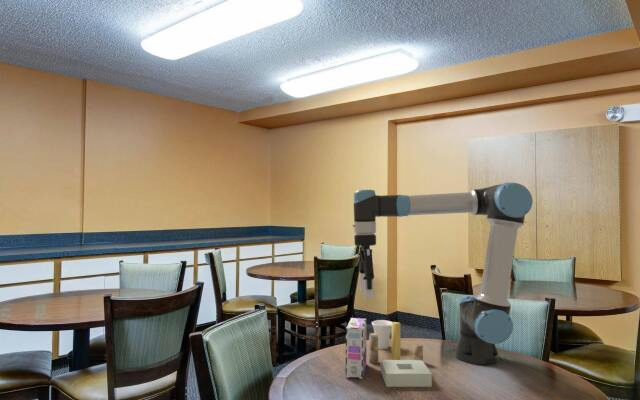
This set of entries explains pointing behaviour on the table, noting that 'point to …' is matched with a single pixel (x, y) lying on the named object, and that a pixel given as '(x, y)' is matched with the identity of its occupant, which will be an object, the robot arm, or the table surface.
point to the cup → (382, 332)
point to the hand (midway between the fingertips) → (366, 295)
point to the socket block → (406, 373)
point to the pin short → (418, 352)
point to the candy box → (356, 348)
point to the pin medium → (373, 348)
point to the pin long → (396, 341)
